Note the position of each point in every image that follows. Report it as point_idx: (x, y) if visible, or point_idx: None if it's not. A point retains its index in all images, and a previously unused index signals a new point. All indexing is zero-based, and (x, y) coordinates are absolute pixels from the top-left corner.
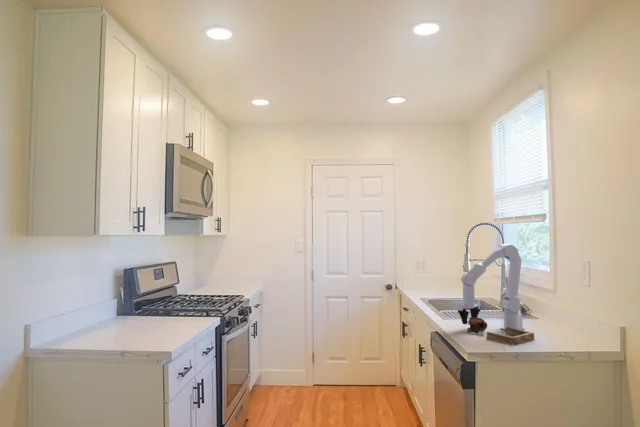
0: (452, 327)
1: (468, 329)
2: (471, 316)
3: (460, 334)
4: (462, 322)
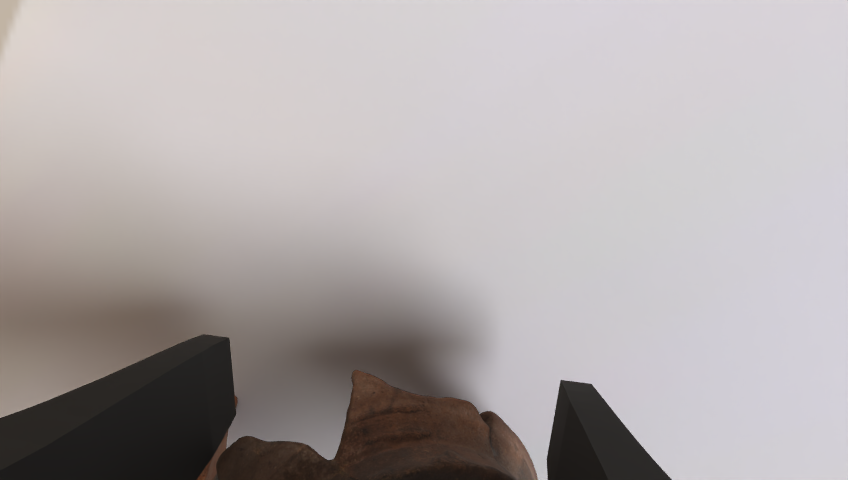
0: (258, 13)
1: None
2: (597, 470)
3: (36, 387)
4: (177, 349)
